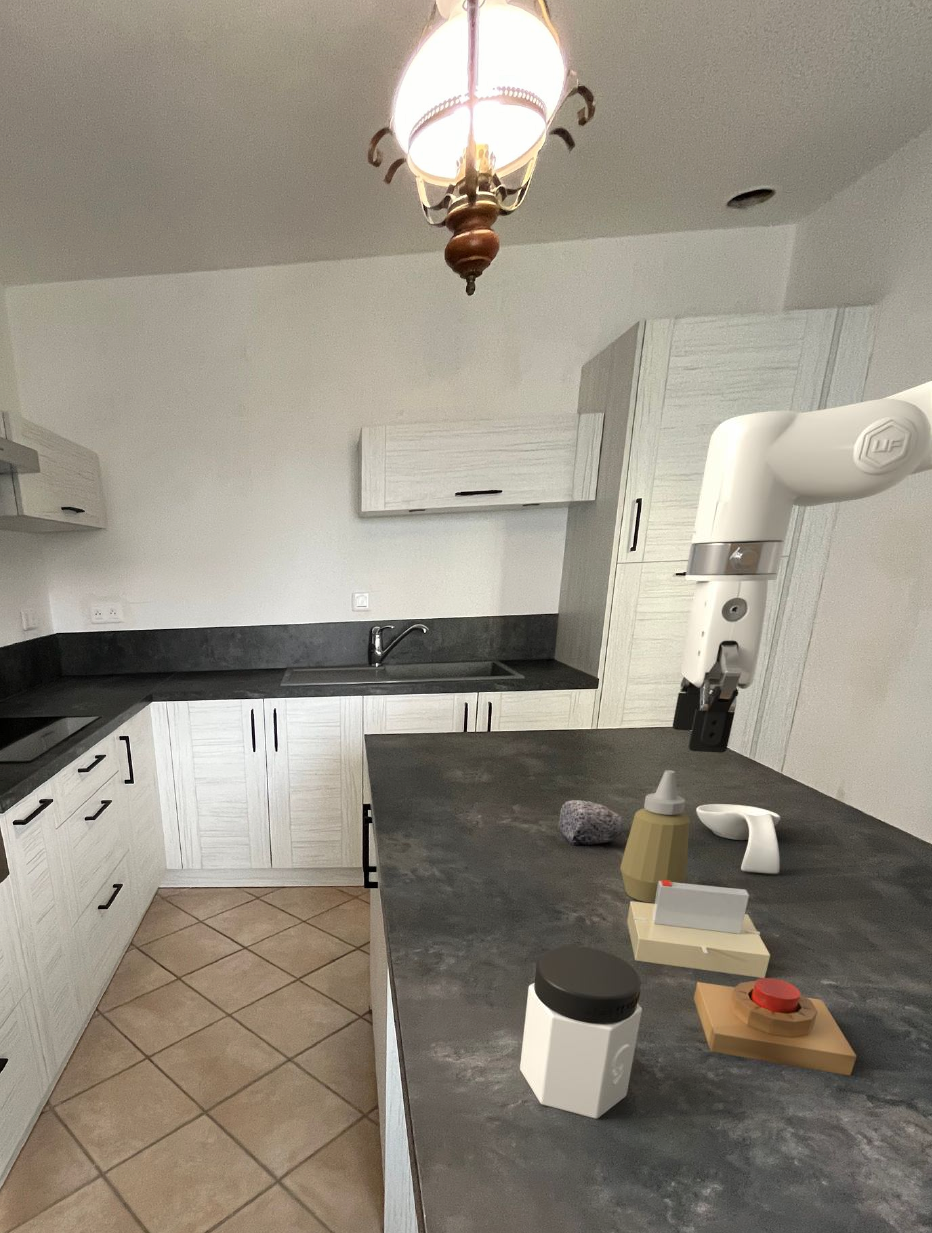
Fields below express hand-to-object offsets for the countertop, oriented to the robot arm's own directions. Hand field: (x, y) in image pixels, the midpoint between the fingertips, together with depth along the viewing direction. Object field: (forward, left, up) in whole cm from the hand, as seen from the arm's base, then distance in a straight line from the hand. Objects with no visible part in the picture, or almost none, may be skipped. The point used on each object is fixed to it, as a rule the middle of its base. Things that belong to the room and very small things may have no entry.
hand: (697, 739), depth 71 cm
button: (-8, +13, -23) cm, 27 cm away
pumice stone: (+6, -36, -27) cm, 45 cm away
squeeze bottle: (-1, -17, -27) cm, 32 cm away
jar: (+10, +26, -26) cm, 38 cm away
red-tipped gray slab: (-4, -3, -23) cm, 24 cm away
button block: (-8, +13, -26) cm, 30 cm away
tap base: (-4, -3, -26) cm, 27 cm away
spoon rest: (-17, -40, -27) cm, 51 cm away
